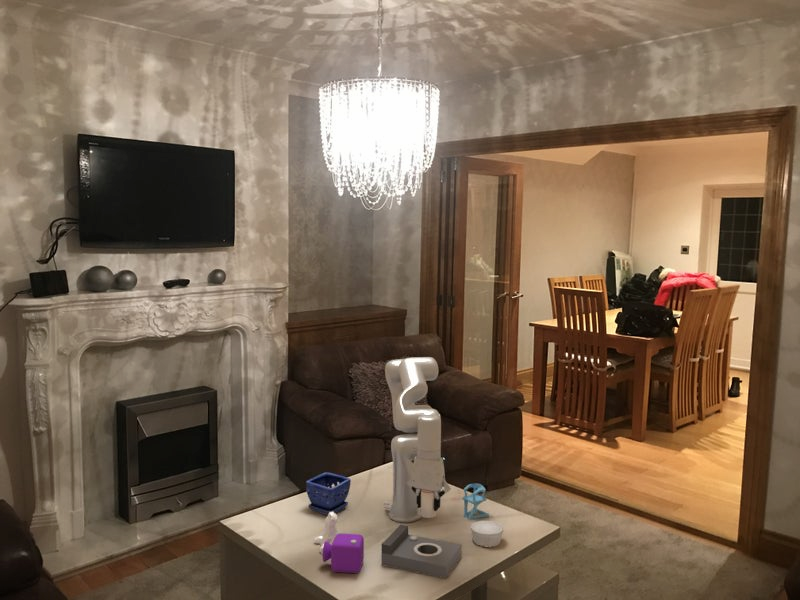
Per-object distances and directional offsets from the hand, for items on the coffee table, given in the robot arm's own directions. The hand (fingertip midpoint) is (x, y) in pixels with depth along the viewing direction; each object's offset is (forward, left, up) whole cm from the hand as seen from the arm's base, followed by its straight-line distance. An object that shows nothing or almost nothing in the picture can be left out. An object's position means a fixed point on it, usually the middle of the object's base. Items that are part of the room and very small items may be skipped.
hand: (428, 507), depth 212 cm
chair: (+4, +41, -19) cm, 45 cm away
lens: (0, 0, -2) cm, 2 cm away
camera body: (-2, 0, -18) cm, 18 cm away
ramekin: (+14, +22, -19) cm, 32 cm away
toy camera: (-24, -14, -19) cm, 33 cm away
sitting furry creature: (-35, -3, -19) cm, 40 cm away
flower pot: (-50, +24, -19) cm, 59 cm away
